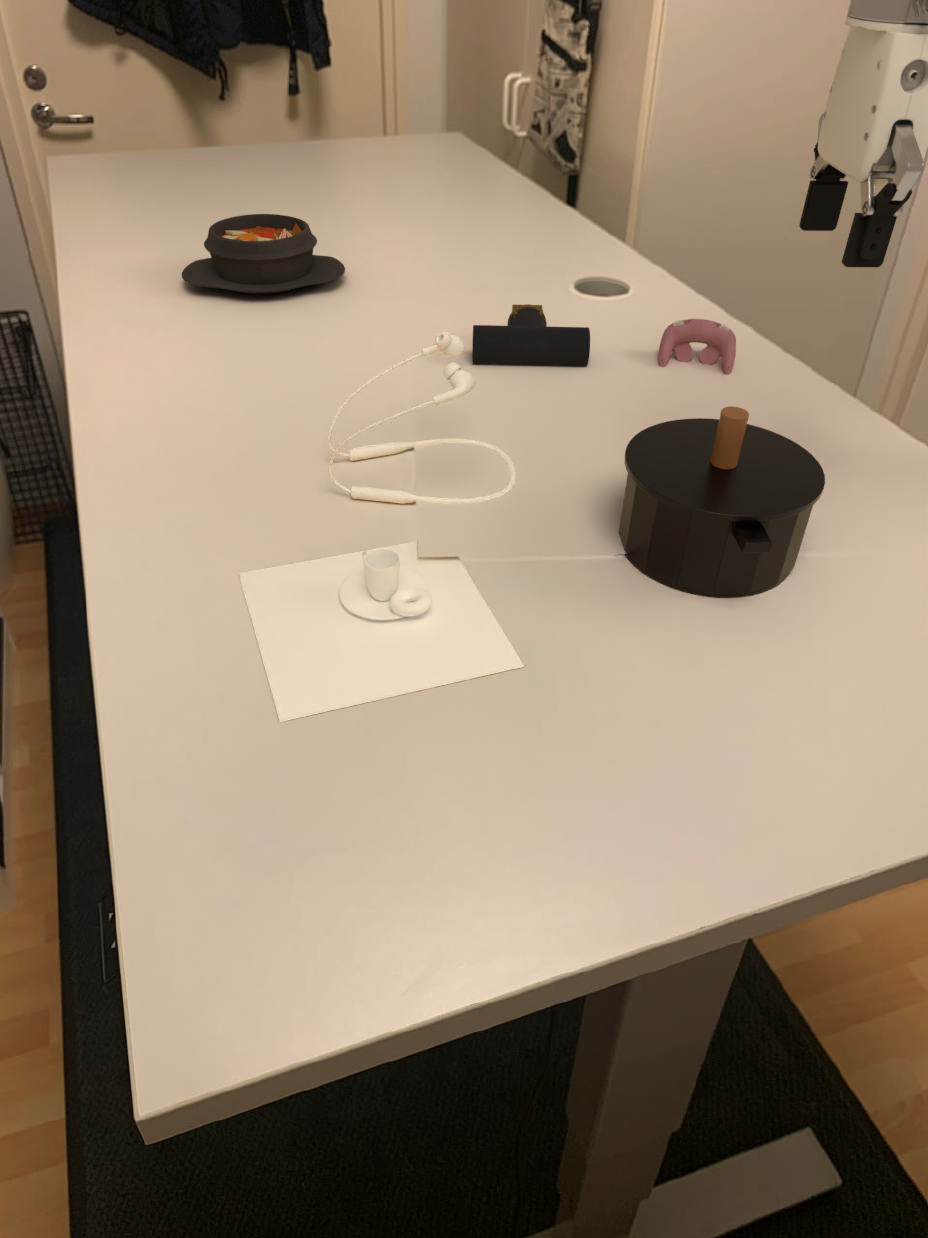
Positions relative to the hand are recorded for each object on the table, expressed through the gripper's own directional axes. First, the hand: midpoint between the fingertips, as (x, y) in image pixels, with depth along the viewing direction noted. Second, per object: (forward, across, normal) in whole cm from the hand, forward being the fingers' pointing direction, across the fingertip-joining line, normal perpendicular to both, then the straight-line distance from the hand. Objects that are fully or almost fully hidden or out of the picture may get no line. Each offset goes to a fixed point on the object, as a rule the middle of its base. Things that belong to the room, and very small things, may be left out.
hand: (837, 246), depth 77 cm
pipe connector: (+26, +40, +20) cm, 52 cm away
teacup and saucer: (+26, -16, +40) cm, 51 cm away
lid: (+18, -6, +8) cm, 20 cm away
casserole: (+26, +68, +58) cm, 93 cm away
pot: (+26, -6, +8) cm, 28 cm away
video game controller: (+26, +36, -2) cm, 45 cm away
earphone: (+26, +8, +35) cm, 45 cm away
